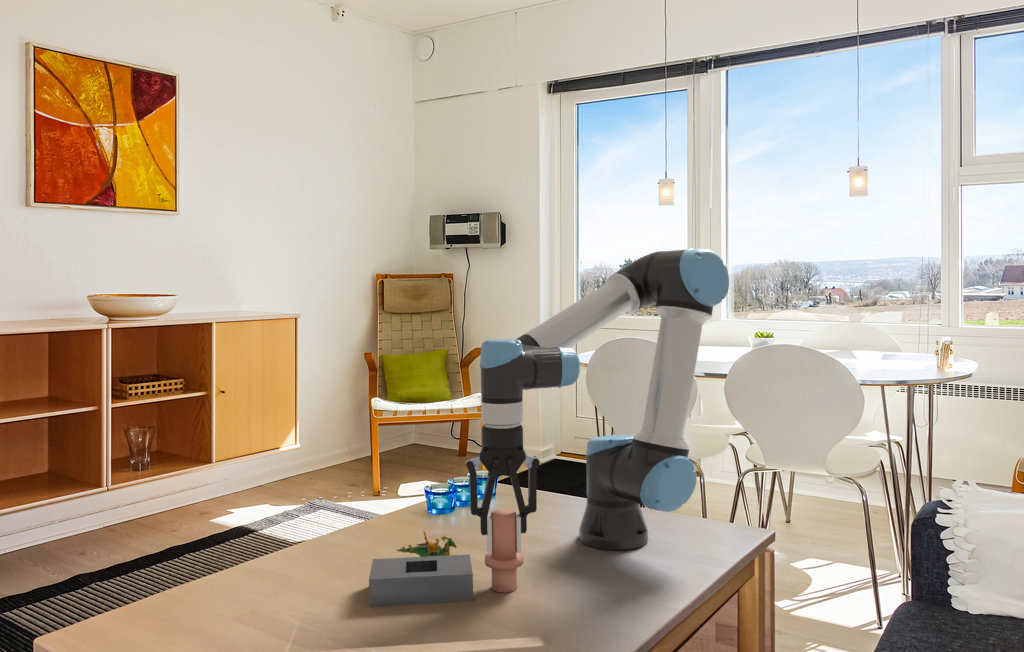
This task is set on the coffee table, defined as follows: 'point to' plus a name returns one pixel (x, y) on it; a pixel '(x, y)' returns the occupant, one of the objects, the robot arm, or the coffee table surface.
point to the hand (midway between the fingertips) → (503, 550)
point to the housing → (420, 580)
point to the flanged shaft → (504, 551)
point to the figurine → (430, 548)
